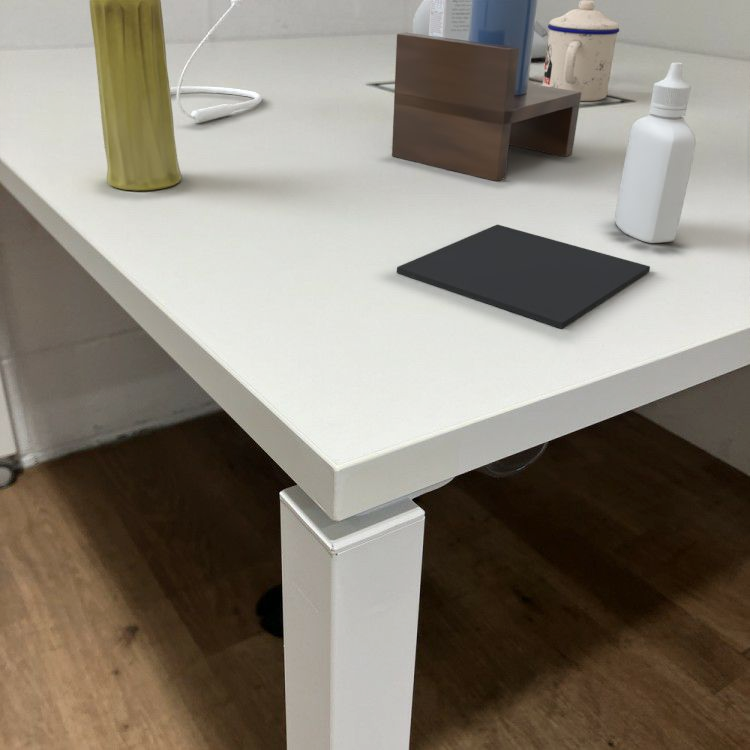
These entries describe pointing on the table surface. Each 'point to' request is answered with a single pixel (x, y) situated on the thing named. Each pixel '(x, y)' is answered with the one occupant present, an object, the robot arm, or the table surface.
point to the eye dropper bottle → (657, 164)
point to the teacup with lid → (581, 52)
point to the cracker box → (450, 18)
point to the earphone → (214, 88)
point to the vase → (134, 94)
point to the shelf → (473, 107)
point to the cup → (506, 30)
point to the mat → (526, 274)
